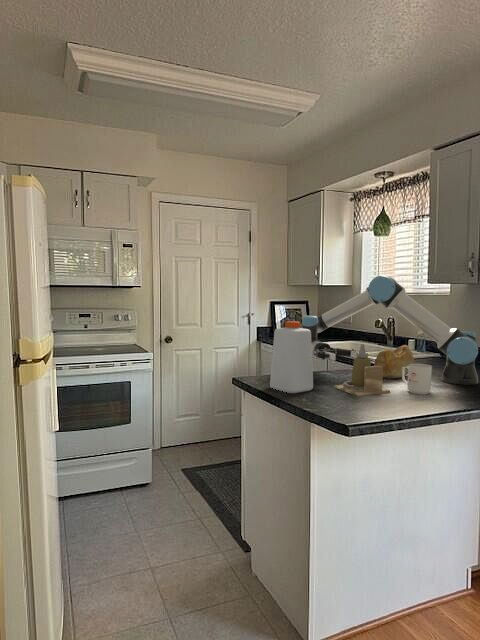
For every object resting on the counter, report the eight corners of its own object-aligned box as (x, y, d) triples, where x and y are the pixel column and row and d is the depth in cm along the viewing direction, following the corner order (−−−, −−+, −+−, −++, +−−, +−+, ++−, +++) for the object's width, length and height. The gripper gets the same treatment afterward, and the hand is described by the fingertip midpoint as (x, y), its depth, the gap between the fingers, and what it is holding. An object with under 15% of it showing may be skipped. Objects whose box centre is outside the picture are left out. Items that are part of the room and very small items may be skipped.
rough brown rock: (390, 372, 231) (388, 343, 231) (419, 374, 218) (418, 344, 218) (361, 378, 218) (359, 348, 217) (391, 381, 204) (389, 349, 204)
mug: (434, 392, 182) (435, 365, 182) (424, 396, 177) (425, 368, 176) (407, 387, 192) (408, 361, 191) (396, 390, 186) (397, 363, 185)
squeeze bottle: (360, 390, 180) (362, 346, 179) (347, 386, 187) (348, 343, 186) (375, 388, 184) (377, 345, 182) (361, 384, 191) (363, 342, 190)
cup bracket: (333, 387, 190) (334, 361, 189) (364, 384, 196) (365, 359, 195) (357, 395, 175) (358, 368, 174) (390, 392, 181) (391, 365, 180)
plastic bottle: (265, 388, 187) (266, 321, 185) (291, 383, 196) (293, 320, 194) (290, 395, 175) (292, 323, 173) (317, 390, 184) (319, 322, 182)
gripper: (341, 356, 218) (370, 363, 198) (297, 359, 208) (323, 366, 188) (342, 341, 217) (371, 346, 198) (297, 343, 207) (323, 349, 188)
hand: (348, 356), depth 193 cm, fingers open, 13 cm apart
